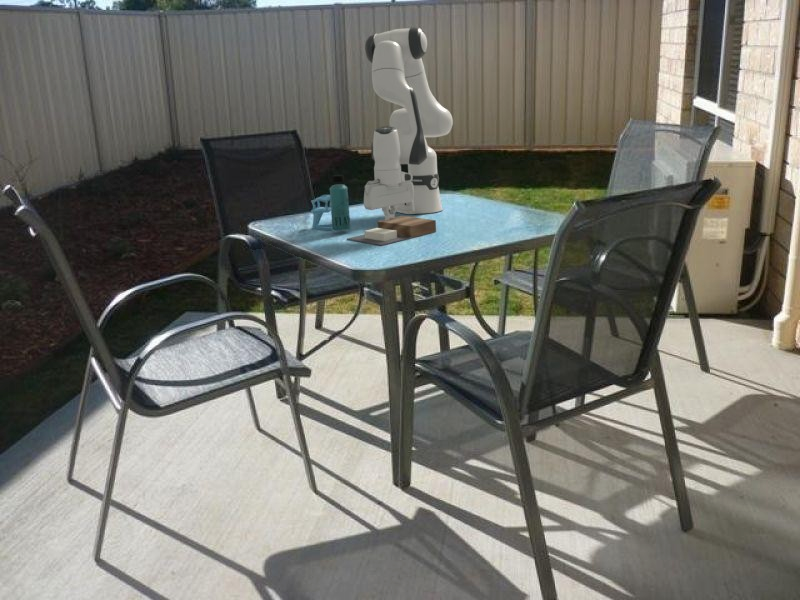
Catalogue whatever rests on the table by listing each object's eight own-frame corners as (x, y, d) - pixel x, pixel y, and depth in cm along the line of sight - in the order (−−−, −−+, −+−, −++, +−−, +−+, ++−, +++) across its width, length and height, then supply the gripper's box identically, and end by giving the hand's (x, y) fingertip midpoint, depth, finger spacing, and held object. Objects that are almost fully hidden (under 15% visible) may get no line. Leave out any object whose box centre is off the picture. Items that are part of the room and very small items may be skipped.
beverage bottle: (333, 235, 282) (329, 176, 276) (331, 231, 288) (326, 174, 282) (352, 233, 283) (348, 175, 277) (349, 230, 289) (345, 173, 283)
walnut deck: (378, 232, 282) (377, 221, 281) (403, 226, 290) (402, 215, 289) (410, 238, 271) (410, 226, 270) (436, 231, 279) (435, 220, 278)
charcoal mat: (347, 239, 274) (346, 238, 274) (375, 232, 282) (375, 231, 282) (381, 245, 262) (381, 244, 262) (410, 238, 270) (410, 237, 270)
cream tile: (377, 227, 276) (377, 234, 277) (364, 231, 272) (364, 238, 273) (396, 230, 270) (397, 237, 271) (383, 233, 266) (384, 241, 267)
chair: (317, 226, 300) (314, 193, 296) (338, 226, 298) (336, 192, 294) (309, 230, 293) (306, 196, 289) (331, 230, 290) (328, 196, 287)
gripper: (371, 182, 261) (374, 225, 265) (416, 174, 275) (417, 215, 279) (358, 181, 265) (360, 223, 269) (402, 173, 279) (404, 213, 283)
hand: (390, 219), depth 274 cm, fingers closed
